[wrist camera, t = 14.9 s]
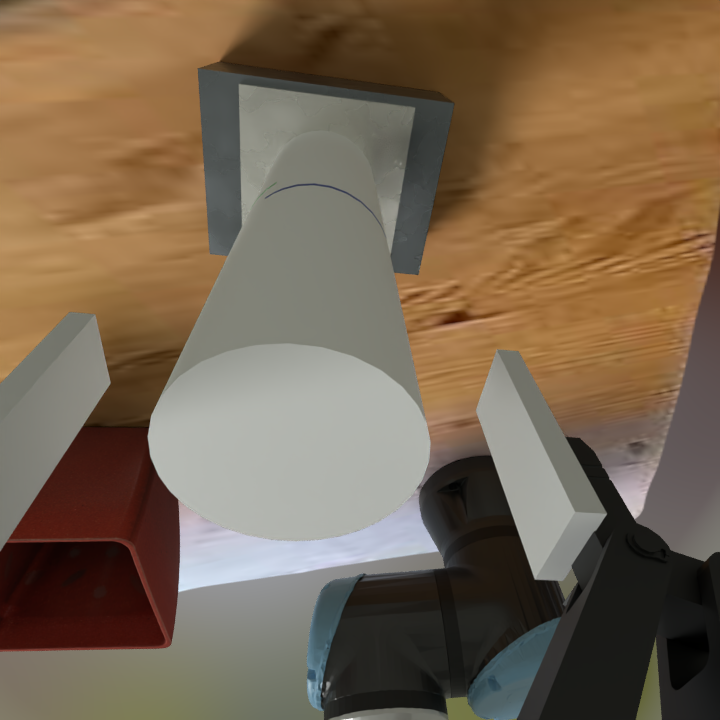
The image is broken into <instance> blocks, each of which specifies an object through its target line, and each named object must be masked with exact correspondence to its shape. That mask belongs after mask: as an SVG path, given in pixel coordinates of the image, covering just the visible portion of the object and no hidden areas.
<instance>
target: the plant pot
mask: <svg viewBox="0 0 720 720" xmlns="http://www.w3.org/2000/svg"><path fill="white" fill-rule="evenodd" d="M148 432H149V428H129V427H82V428H81V429H80V431H79V432H78V434H77V435H76V437H75V438H74V440H73V441H72V443H71V444H70V446H69V447H68V449H67V450H66V452H65V454H64V455H63V457H62V458H61V460H60V461H59V463H58V464H57V466H56V467H55V469H54V470H53V472H52V473H51V475H50V476H49V478H48V479H47V481H46V482H45V484H44V485H43V487H42V489H41V490H40V492H39V493H38V495H37V496H36V498H35V499H34V501H33V502H32V504H31V505H30V507H29V508H28V510H27V511H26V513H25V514H24V516H23V517H22V519H21V520H20V522H19V524H18V525H17V527H16V528H15V530H14V531H13V533H12V534H11V536H10V537H9V539H8V540H7V542H6V543H5V545H4V546H3V548H2V549H1V551H0V652H2V651H49V650H50V651H51V650H103V649H157V648H158V649H159V648H166V647H169V646H170V645H171V642H172V637H173V630H174V624H175V615H176V607H177V597H178V583H179V563H180V526H179V505H178V499H177V498H176V497H175V496H174V495H173V494H172V493H171V492H170V491H169V489H168V488H167V487H166V485H165V484H164V483H163V481H162V480H161V478H160V477H159V476H158V473H157V471H156V469H155V466H154V464H153V462H152V459H151V457H150V450H149V442H148Z"/></svg>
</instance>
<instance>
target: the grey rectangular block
mask: <svg viewBox="0 0 720 720" xmlns="http://www.w3.org/2000/svg"><path fill="white" fill-rule="evenodd" d="M198 79H199V94H200V110H201V125H202V141H203V156H204V171H205V187H206V202H207V217H208V233H209V248H210V254H215V255H225V256H228V255H229V253H230V251H231V249H232V247H233V244H234V242H235V240H236V238H237V236H238V234H239V232H240V230H241V228H242V226H243V224H244V222H245V220H246V217H247V215H248V213H249V211H250V209H251V207H252V205H253V203H254V201H255V199H256V197H257V195H258V193H259V191H260V189H261V187H262V185H263V183H264V181H265V178H266V176H267V174H268V172H269V170H270V168H271V166H272V164H273V162H274V160H275V158H276V156H277V154H278V152H279V151H280V150H281V149H282V148H283V146H284V145H285V144H286V143H287V142H289V141H290V140H291V139H293V138H294V137H296V136H298V135H300V134H302V133H306V132H309V131H318V130H324V131H330V132H335V133H337V134H340V135H342V136H345V137H346V138H348V139H349V140H351V141H352V142H354V143H355V144H356V145H357V146H358V147H359V149H360V150H361V151H362V152H363V153H364V155H365V157H366V158H367V160H368V162H369V164H370V167H371V169H372V174H373V179H374V183H375V188H376V192H377V197H378V202H379V206H380V211H381V215H382V220H383V225H384V229H385V234H386V238H387V243H388V248H389V252H390V257H391V261H392V266H393V271H394V272H395V273H405V274H415V275H419V270H420V265H421V260H422V256H423V251H424V246H425V241H426V236H427V232H428V227H429V222H430V217H431V213H432V208H433V203H434V198H435V194H436V189H437V184H438V179H439V175H440V170H441V165H442V160H443V155H444V151H445V146H446V141H447V136H448V132H449V127H450V122H451V117H452V113H453V108H454V103H453V102H452V101H451V100H449V99H448V98H446V97H445V96H444V95H442V94H441V93H439V92H435V91H428V90H420V89H413V88H406V87H399V86H391V85H384V84H377V83H370V82H362V81H355V80H348V79H341V78H333V77H326V76H319V75H312V74H304V73H297V72H290V71H283V70H275V69H268V68H261V67H254V66H246V65H239V64H232V63H225V62H216V63H213V64H210V65H207V66H204V67H201V68H198Z"/></svg>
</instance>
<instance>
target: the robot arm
mask: <svg viewBox="0 0 720 720" xmlns="http://www.w3.org/2000/svg"><path fill="white" fill-rule="evenodd" d="M110 384H111V382H110V378H109V373H108V369H107V365H106V360H105V356H104V351H103V347H102V342H101V338H100V333H99V329H98V325H97V320H96V316H95V314H85V313H74V312H69V313H68V314H67V315H66V316H65V318H64V319H63V320H62V321H61V322H60V323H59V324H58V325H57V326H56V327H55V328H54V329H53V330H52V331H51V332H50V333H49V334H48V335H47V336H46V337H45V338H44V339H43V340H42V341H41V342H40V343H39V344H38V345H37V346H36V347H35V349H34V350H33V351H32V352H31V353H30V354H29V355H28V356H27V357H26V358H25V359H24V360H23V361H22V362H21V363H20V364H19V365H18V366H17V367H16V368H15V369H14V370H13V371H12V372H11V373H10V374H9V375H8V376H7V377H6V378H5V380H4V381H3V382H2V383H1V384H0V551H1V549H2V548H3V546H4V545H5V543H6V542H7V540H8V539H9V537H10V536H11V534H12V533H13V531H14V530H15V528H16V527H17V525H18V524H19V522H20V520H21V519H22V517H23V516H24V514H25V513H26V511H27V510H28V508H29V507H30V505H31V504H32V502H33V501H34V499H35V498H36V496H37V495H38V493H39V492H40V490H41V489H42V487H43V485H44V484H45V482H46V481H47V479H48V478H49V476H50V475H51V473H52V472H53V470H54V469H55V467H56V466H57V464H58V463H59V461H60V460H61V458H62V457H63V455H64V454H65V452H66V450H67V449H68V447H69V446H70V444H71V443H72V441H73V440H74V438H75V437H76V435H77V434H78V432H79V431H80V429H81V428H82V426H83V425H84V423H85V422H86V420H87V419H88V417H89V415H90V414H91V412H92V411H93V409H94V408H95V406H96V405H97V403H98V402H99V400H100V399H101V397H102V396H103V394H104V393H105V391H106V390H107V388H108V387H109V385H110ZM476 412H477V415H478V418H479V421H480V424H481V426H482V429H483V432H484V435H485V438H486V441H487V444H488V446H489V449H490V452H491V455H492V456H481V457H473V458H467V459H463V460H460V461H457V462H454V463H452V464H449V465H447V466H445V467H444V468H442V469H440V470H439V471H437V472H436V473H435V474H433V475H432V476H431V477H430V478H429V479H428V480H427V481H426V483H425V484H424V486H423V487H422V490H421V492H420V496H419V505H420V511H421V517H422V520H423V523H424V525H425V527H426V529H427V530H428V532H429V534H430V536H431V538H432V539H433V541H434V543H435V545H436V546H437V548H438V550H439V552H440V553H441V555H442V557H443V561H444V566H445V568H443V569H430V570H419V571H409V572H398V573H383V574H371V575H367V574H359V575H358V576H355V577H349V578H342V579H335V580H333V581H330V582H329V583H327V584H326V585H325V586H324V588H323V589H322V590H321V592H320V595H319V596H318V598H317V601H316V605H315V608H314V612H313V616H312V622H311V628H310V634H309V642H308V653H307V667H308V668H309V669H308V674H307V691H308V698H309V701H310V703H311V704H312V706H313V707H314V708H317V709H318V710H320V711H324V720H448V714H447V707H446V699H447V698H454V697H467V699H468V704H469V705H470V706H471V708H472V710H473V712H474V713H475V714H476V715H477V716H479V717H481V718H484V719H492V718H493V719H495V720H507V719H515V718H517V720H636V716H637V711H638V707H639V703H640V699H641V695H642V691H643V687H644V682H645V679H646V674H647V670H648V666H649V662H650V658H651V654H652V650H653V646H654V642H655V637H656V645H657V658H658V672H659V686H660V699H661V714H662V720H720V552H716V553H714V554H713V555H711V556H710V557H709V558H708V559H707V561H705V562H704V561H701V560H697V559H694V558H692V557H689V556H685V555H683V554H679V553H676V552H673V551H671V550H670V548H669V546H668V545H667V544H666V543H665V541H664V540H663V539H662V538H661V537H660V536H659V535H657V534H656V533H655V532H653V531H652V530H650V529H649V528H647V527H644V526H642V525H640V524H637V523H636V521H635V520H634V518H633V516H632V515H631V513H630V511H629V510H628V508H627V506H626V505H625V503H624V501H623V500H622V498H621V496H620V495H619V493H618V491H617V489H616V488H615V486H614V484H613V483H612V481H611V480H609V476H608V474H607V473H606V471H605V469H604V468H602V464H601V463H600V461H599V459H598V458H597V456H596V454H595V452H594V451H593V450H592V449H591V448H590V447H589V446H588V445H587V444H585V443H584V442H583V441H582V440H581V439H580V438H572V437H565V436H564V434H563V432H562V430H561V428H560V427H559V425H558V423H557V421H556V419H555V417H554V416H553V414H552V412H551V410H550V408H549V406H548V405H547V403H546V401H545V399H544V397H543V395H542V394H541V392H540V390H539V388H538V386H537V384H536V383H535V381H534V379H533V377H532V375H531V373H530V372H529V370H528V368H527V366H526V364H525V362H524V361H523V359H522V357H521V355H520V353H519V351H508V350H497V351H496V354H495V357H494V360H493V362H492V365H491V368H490V371H489V374H488V377H487V380H486V383H485V386H484V389H483V392H482V394H481V397H480V400H479V403H478V406H477V409H476ZM571 568H572V569H573V571H574V573H575V576H576V578H577V580H578V583H577V584H576V586H575V587H574V588H573V590H572V591H571V593H570V594H569V596H568V597H567V599H566V600H565V599H564V596H563V593H562V591H561V588H560V586H559V583H558V581H563V580H564V578H565V577H566V576H567V574H568V572H569V571H570V569H571Z"/></svg>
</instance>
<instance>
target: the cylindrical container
mask: <svg viewBox="0 0 720 720" xmlns="http://www.w3.org/2000/svg"><path fill="white" fill-rule="evenodd" d="M148 442H149V450H150V457H151V459H152V462H153V464H154V466H155V469H156V471H157V473H158V476H159V477H160V478H161V480H162V481H163V483H164V484H165V485H166V487H167V488H168V489H169V491H170V492H171V493H172V494H173V495H174V496H175V497H176V498H177V499H179V500H180V501H181V502H182V503H183V504H184V505H185V506H186V507H188V508H189V509H191V510H192V511H194V512H195V513H197V514H198V515H200V516H201V517H203V518H205V519H207V520H209V521H211V522H213V523H215V524H217V525H219V526H221V527H223V528H226V529H229V530H233V531H236V532H239V533H242V534H245V535H249V536H254V537H260V538H265V539H270V540H284V541H308V540H321V539H327V538H333V537H339V536H342V535H346V534H349V533H352V532H356V531H359V530H361V529H364V528H366V527H368V526H370V525H373V524H375V523H377V522H379V521H381V520H382V519H384V518H385V517H387V516H388V515H390V514H391V513H393V512H395V511H396V510H397V509H398V508H399V507H400V506H402V505H403V504H404V503H405V502H406V501H407V500H408V499H409V498H410V497H411V496H412V495H413V493H414V492H415V490H416V489H417V487H418V486H419V484H420V483H421V481H422V480H423V477H424V474H425V472H426V469H427V466H428V463H429V457H430V437H429V432H428V428H427V423H426V418H425V414H424V409H423V404H422V400H421V395H420V391H419V386H418V381H417V377H416V372H415V367H414V363H413V358H412V354H411V349H410V344H409V340H408V335H407V331H406V326H405V321H404V317H403V312H402V308H401V303H400V298H399V294H398V289H397V285H396V280H395V275H394V271H393V266H392V261H391V257H390V252H389V248H388V243H387V238H386V234H385V229H384V225H383V220H382V215H381V211H380V206H379V202H378V197H377V192H376V188H375V183H374V179H373V174H372V169H371V167H370V164H369V162H368V160H367V158H366V157H365V155H364V153H363V152H362V151H361V150H360V149H359V147H358V146H357V145H356V144H355V143H354V142H352V141H351V140H349V139H348V138H346V137H345V136H342V135H340V134H337V133H335V132H330V131H324V130H318V131H309V132H306V133H302V134H300V135H298V136H296V137H294V138H293V139H291V140H290V141H289V142H287V143H286V144H285V145H284V146H283V148H282V149H281V150H280V151H279V152H278V154H277V156H276V158H275V160H274V162H273V164H272V166H271V168H270V170H269V172H268V174H267V176H266V178H265V181H264V183H263V185H262V187H261V189H260V191H259V193H258V195H257V197H256V199H255V201H254V203H253V205H252V207H251V209H250V211H249V213H248V215H247V217H246V220H245V222H244V224H243V226H242V228H241V230H240V232H239V234H238V236H237V238H236V240H235V242H234V244H233V247H232V249H231V251H230V253H229V255H228V257H227V259H226V261H225V263H224V265H223V267H222V269H221V272H220V274H219V276H218V278H217V280H216V282H215V284H214V286H213V288H212V290H211V292H210V294H209V296H208V299H207V301H206V303H205V305H204V307H203V309H202V311H201V313H200V315H199V317H198V319H197V321H196V324H195V326H194V328H193V330H192V332H191V334H190V336H189V338H188V340H187V342H186V344H185V346H184V348H183V351H182V353H181V355H180V357H179V359H178V361H177V363H176V365H175V367H174V369H173V371H172V373H171V376H170V378H169V380H168V382H167V384H166V386H165V388H164V390H163V392H162V394H161V396H160V398H159V401H158V403H157V405H156V407H155V409H154V411H153V413H152V415H151V420H150V426H149V432H148Z"/></svg>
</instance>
